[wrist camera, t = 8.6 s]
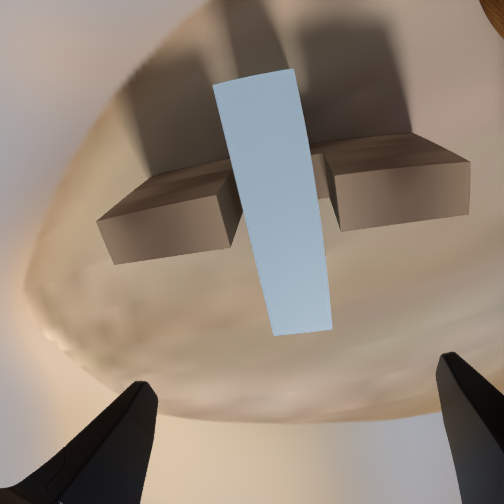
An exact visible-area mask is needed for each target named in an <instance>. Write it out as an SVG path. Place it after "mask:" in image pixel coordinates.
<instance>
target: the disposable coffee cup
mask: <svg viewBox="0 0 504 504" xmlns="http://www.w3.org/2000/svg"><path fill="white" fill-rule="evenodd" d="M480 2H481V4H482V6H483V9H484V11H485V13H486V15H487V17H488V19H489V20H490V22H491V23H492V25H493V26H494V28H495V29H496V30H497V32H498V33H499V34H500V35H501V36H502V37H503V38H504V0H480Z"/></svg>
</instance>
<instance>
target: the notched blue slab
mask: <svg viewBox="0 0 504 504" xmlns="http://www.w3.org/2000/svg"><path fill="white" fill-rule="evenodd" d="M212 86H213V90H214V94H215V98H216V102H217V106H218V110H219V114H220V119H221V123H222V127H223V131H224V135H225V139H226V143H227V147H228V151H229V155H230V159H231V163H232V167H233V172H234V176H235V180H236V184H237V188H238V192H239V196H240V200H241V204H242V208H243V212H244V216H245V221H246V225H247V229H248V233H249V237H250V241H251V245H252V249H253V253H254V257H255V261H256V266H257V270H258V274H259V278H260V282H261V286H262V290H263V294H264V298H265V302H266V307H267V311H268V315H269V319H270V323H271V327H272V331H273V335H274V336H279V335H289V334H298V333H307V332H316V331H324V330H332V317H331V306H330V296H329V286H328V276H327V267H326V258H325V250H324V242H323V234H322V226H321V219H320V212H319V205H318V198H317V191H316V185H315V178H314V172H313V166H312V160H311V154H310V148H309V143H308V137H307V132H306V126H305V121H304V116H303V111H302V106H301V101H300V96H299V91H298V86H297V82H296V77H295V72H294V68H292V69H286V70H280V71H274V72H269V73H264V74H259V75H254V76H249V77H244V78H240V79H235V80H231V81H227V82H222V83H218V84H214V85H212Z"/></svg>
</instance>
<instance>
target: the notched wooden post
mask: <svg viewBox="0 0 504 504" xmlns="http://www.w3.org/2000/svg"><path fill="white" fill-rule="evenodd" d="M309 148H310V154H311V160H312V166H313V172H314V178H315V185H316V191H317V198H318V199H321V198H328V197H330V200H331V203H332V206H333V209H334V212H335V215H336V218H337V221H338V224H339V227H340V230H341V232H343V231H350V230H358V229H365V228H372V227H379V226H386V225H394V224H401V223H408V222H416V221H423V220H431V219H438V218H446V217H453V216H461V215H468V214H469V202H470V161H468V160H466V159H464V158H462V157H461V156H459V155H457V154H455V153H453V152H451V151H449V150H447V149H445V148H443V147H441V146H439V145H437V144H435V143H433V142H431V141H429V140H427V139H425V138H423V137H421V136H418V135H416V134H414V133H405V134H392V135H381V136H371V137H362V138H353V139H345V140H337V141H329V142H322V143H315V144H309ZM242 213H243V208H242V204H241V200H240V196H239V192H238V188H237V184H236V180H235V176H234V172H233V167H232V163H231V159H230V158H229V159H224V160H219V161H215V162H210V163H206V164H201V165H197V166H192V167H188V168H184V169H180V170H176V171H171V172H167V173H163V174H160V175H156V176H152V177H150V178H149V179H148V180H147V181H145V182H144V183H143V184H141V185H140V186H139V187H138V188H136V189H135V190H134V191H132V192H131V193H130V194H129V195H127V196H126V197H125V198H124V199H123V200H121V201H120V202H119V203H118V204H116V205H115V206H114V207H113V208H112V209H110V210H109V211H108V212H107V213H106V214H104V215H103V216H102V217H101V218H100V219H99V220H97V221H96V222H97V225H98V227H99V230H100V232H101V235H102V237H103V240H104V242H105V244H106V247H107V249H108V252H109V254H110V256H111V258H112V261H113V263H114V265H117V264H124V263H131V262H137V261H144V260H150V259H157V258H164V257H170V256H177V255H184V254H191V253H197V252H204V251H211V250H218V249H224V248H231V245H232V242H233V239H234V236H235V233H236V230H237V227H238V224H239V221H240V218H241V215H242Z"/></svg>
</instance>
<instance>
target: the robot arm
mask: <svg viewBox="0 0 504 504" xmlns="http://www.w3.org/2000/svg"><path fill="white" fill-rule="evenodd" d="M436 381H437V386H438V392H439V397H440V403H441V409H442V414H443V421H444V425H445V429H446V433H447V436H448V440H449V444H450V448H451V452H452V457H453V461H454V465H455V470H456V474H457V479H458V484H459V489H460V494H461V500H462V504H504V395H503V394H502V393H501V392H500V391H498V390H497V389H496V388H495V387H494V386H493V385H492V384H491V383H490V382H488V381H487V380H486V379H485V378H484V377H483V376H482V375H481V374H479V373H478V372H477V371H476V370H475V369H474V368H473V367H471V366H470V365H469V364H468V363H467V362H466V361H465V360H463V359H462V358H461V357H460V356H459V355H458V354H456V353H455V352H448V353H444V354H442V355H441V356H440V359H439V363H438V366H437V370H436ZM157 408H158V397H157V395H156V394H155V392H154V391H153V389H152V388H151V386H150V385H149V383H148V382H146V381H135V382H134V383H132V384H131V385H130V386H129V387H128V388H127V389H126V390H125V391H124V392H123V393H122V394H121V395H120V396H119V397H117V398H116V399H115V400H114V401H113V402H112V403H111V404H110V405H109V406H108V407H107V408H106V409H105V410H104V411H102V412H101V413H100V414H99V415H98V416H97V417H96V418H95V419H94V420H93V421H92V422H91V423H90V424H89V425H88V426H87V427H85V428H84V429H83V430H82V431H81V432H80V433H79V434H78V435H77V436H76V437H74V438H73V439H72V440H71V441H70V442H69V443H68V444H67V445H66V447H63V449H61V450H60V451H59V452H58V453H57V454H56V455H55V456H53V457H52V458H51V459H50V460H49V461H48V462H46V463H45V464H44V465H43V466H41V467H40V468H39V469H37V470H36V471H35V472H33V473H32V474H30V475H29V476H28V477H26V478H25V479H24V480H23V481H21V482H19V483H18V484H16V485H14V486H12V487H8V488H0V504H140V501H141V495H142V491H143V486H144V481H145V477H146V472H147V468H148V463H149V458H150V454H151V450H152V445H153V440H154V433H155V424H156V415H157Z"/></svg>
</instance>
